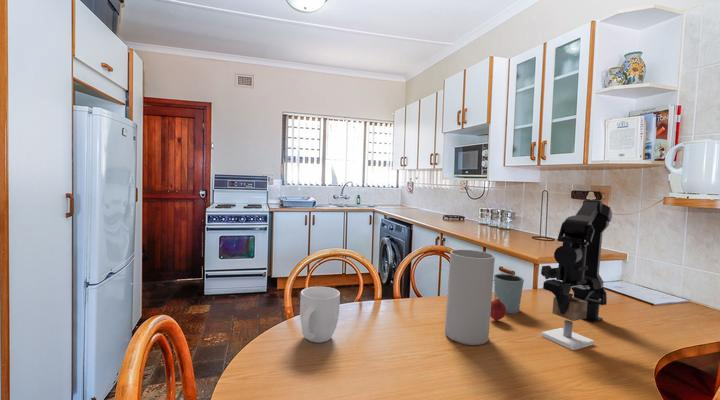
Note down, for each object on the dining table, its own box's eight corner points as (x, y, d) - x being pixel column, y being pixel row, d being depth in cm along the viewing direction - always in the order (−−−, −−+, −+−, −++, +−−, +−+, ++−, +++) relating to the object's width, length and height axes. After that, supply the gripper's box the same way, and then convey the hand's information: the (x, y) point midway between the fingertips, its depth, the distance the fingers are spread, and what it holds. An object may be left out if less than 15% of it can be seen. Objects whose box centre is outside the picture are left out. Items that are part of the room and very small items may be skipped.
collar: (565, 310, 114) (566, 295, 114) (586, 318, 109) (587, 301, 108) (552, 313, 112) (553, 297, 111) (572, 321, 106) (574, 304, 106)
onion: (506, 325, 120) (508, 301, 119) (488, 322, 121) (490, 299, 120) (503, 318, 125) (505, 295, 125) (485, 316, 127) (487, 293, 126)
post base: (561, 331, 117) (563, 313, 117) (593, 344, 108) (595, 325, 108) (541, 335, 113) (542, 317, 112) (572, 350, 104) (574, 330, 103)
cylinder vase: (458, 324, 118) (463, 248, 116) (495, 338, 109) (502, 255, 108) (436, 335, 109) (442, 252, 108) (475, 350, 100) (481, 260, 99)
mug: (323, 356, 93) (325, 305, 92) (284, 348, 96) (286, 299, 95) (343, 333, 107) (345, 289, 106) (309, 327, 110) (311, 284, 109)
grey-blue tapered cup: (523, 308, 137) (525, 277, 136) (518, 316, 128) (521, 282, 128) (495, 302, 142) (497, 272, 142) (488, 309, 134) (491, 277, 133)
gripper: (567, 254, 120) (563, 300, 121) (529, 257, 112) (525, 307, 113) (603, 261, 111) (598, 312, 112) (564, 265, 102) (559, 320, 103)
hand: (569, 312), depth 110 cm, fingers closed on collar, 6 cm apart
